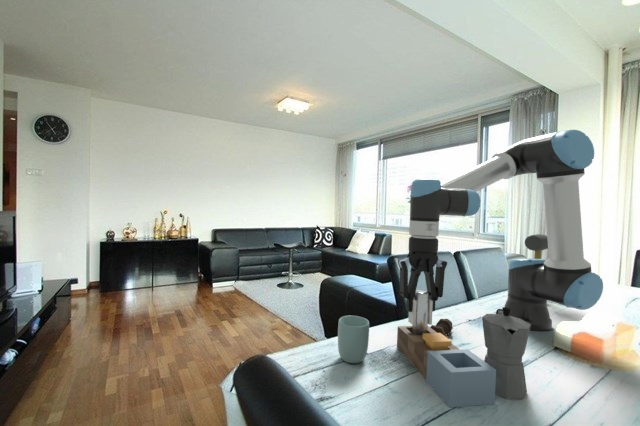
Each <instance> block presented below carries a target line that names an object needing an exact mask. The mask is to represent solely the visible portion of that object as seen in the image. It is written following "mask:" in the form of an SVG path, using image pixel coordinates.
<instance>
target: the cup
mask: <svg viewBox="0 0 640 426" xmlns="http://www.w3.org/2000/svg"><path fill="white" fill-rule="evenodd" d="M337 326H338V327H337V350H338V354H339V357H340V358H341V359H342V360H343V361H344V362H345V363H348V364H360V363H362V362H363V361H364V360H365V359H366V356H367V354H368V353H367V352H368V349H369V342H370V341H369V340H370V339H369V337H370V321H369V320H368V319H367V318H365V317H362V316H358V315H350V314H349V315H343V316H341V317H340V318H339V319H338V325H337Z"/></svg>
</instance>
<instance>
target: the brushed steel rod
mask: <svg viewBox="0 0 640 426" xmlns="http://www.w3.org/2000/svg"><path fill="white" fill-rule="evenodd" d="M414 300H416V301H417V304H416V325H412V324H411V326H412V334H413V335H415V336H416V335H423V333H427V331H428V326H429V324H428V307H429V292H427V290H422V289H421V290H420V289H416V292H415V296H414Z"/></svg>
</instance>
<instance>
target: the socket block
mask: <svg viewBox="0 0 640 426" xmlns="http://www.w3.org/2000/svg"><path fill="white" fill-rule="evenodd" d="M430 327H431V326H430V325H428V331H427V333H437V332H436V331H434V330H433V329H432V328H430ZM396 348H397V350H399V351H400V353H401V354H402V355H403V356H404V357H405V358H406V359H407V361H408V362H410V364H411V365H412V366H413V367H414V368H415V369H416V370H417V371H418V372H419V373H420V374H421V376H423V378H424V379H425V380H426V376H427V355H428V351H441V350H432V349H431V348H430V347H429V346H428V345H426V344H425V340H424V339H423V335H416V336H415V335H413V334H412V325H398V326H397V335H396ZM445 350H461V349H460V348H459V347H457V346H456V345H455V344H453V343H452V344H451V346H448V349H445Z"/></svg>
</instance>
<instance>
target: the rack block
mask: <svg viewBox="0 0 640 426" xmlns="http://www.w3.org/2000/svg"><path fill="white" fill-rule="evenodd" d="M425 382H426V383H427V385H428V386H429V387H430V388H431V389H432V390H433V391H434V392H435V393H436V394H437V395H438V396H439V398H440V399H441V400H442V401H443V402H444V403H445V404H446V405H447V406H448V407H449V408H459V407H473V406H485V405H495V403H496V401H495V399H496V395H495V384H496V369H494V368H493V367H492V366H490V365H489V364H487V363H486V362H485V361H484V359H482V358H480V357H479V356H478V355H477V354H475V353H474V352H472V351H471V350H469V349H468V348H466V349H460V350H441V351H428V355H427V376H426V379H425Z"/></svg>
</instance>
